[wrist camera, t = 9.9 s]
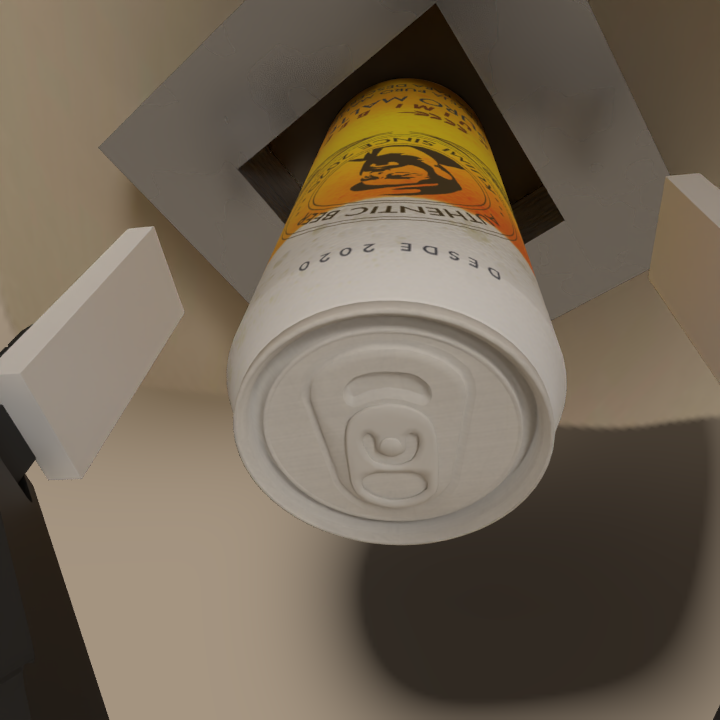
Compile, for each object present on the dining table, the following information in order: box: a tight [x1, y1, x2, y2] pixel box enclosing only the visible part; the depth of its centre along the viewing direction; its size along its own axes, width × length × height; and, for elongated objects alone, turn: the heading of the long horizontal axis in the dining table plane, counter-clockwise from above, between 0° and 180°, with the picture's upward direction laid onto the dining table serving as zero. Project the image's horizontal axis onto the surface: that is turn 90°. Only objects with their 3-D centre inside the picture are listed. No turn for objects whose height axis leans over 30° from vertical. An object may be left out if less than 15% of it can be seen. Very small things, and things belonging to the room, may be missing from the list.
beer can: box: [227, 78, 567, 545], centre depth 16 cm, size 6×6×15 cm
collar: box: [98, 0, 670, 320], centre depth 20 cm, size 14×14×4 cm
